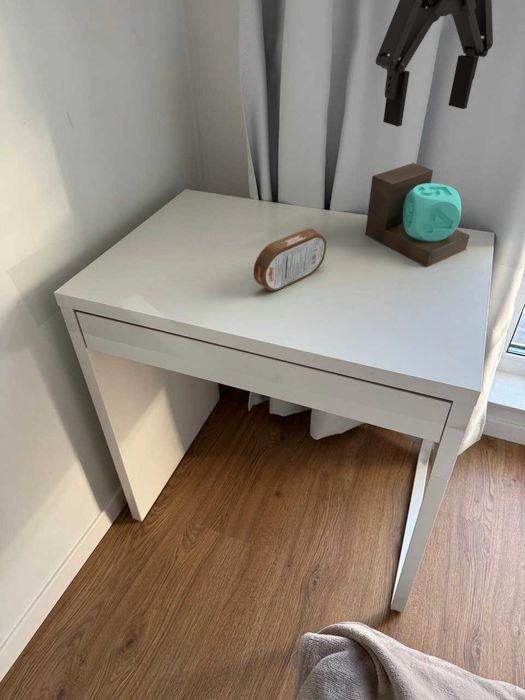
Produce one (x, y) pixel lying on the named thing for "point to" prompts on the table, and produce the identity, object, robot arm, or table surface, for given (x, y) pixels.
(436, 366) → the table surface
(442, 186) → the decorative dice
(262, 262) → the tin
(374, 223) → the shelf stand
